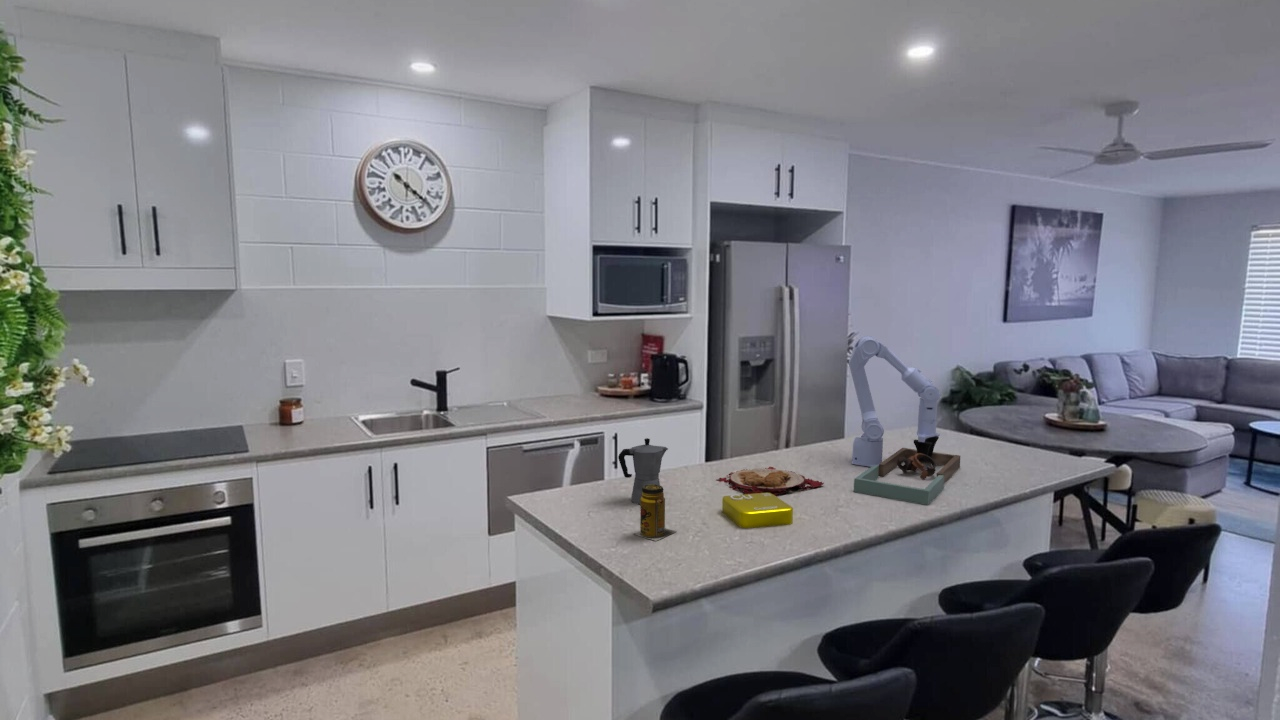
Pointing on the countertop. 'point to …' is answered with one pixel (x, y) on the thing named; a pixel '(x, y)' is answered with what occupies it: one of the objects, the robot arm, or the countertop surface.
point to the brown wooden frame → (946, 460)
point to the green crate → (896, 488)
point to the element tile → (757, 510)
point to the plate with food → (768, 481)
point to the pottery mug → (917, 465)
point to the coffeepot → (643, 466)
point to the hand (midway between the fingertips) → (925, 459)
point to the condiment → (653, 513)
